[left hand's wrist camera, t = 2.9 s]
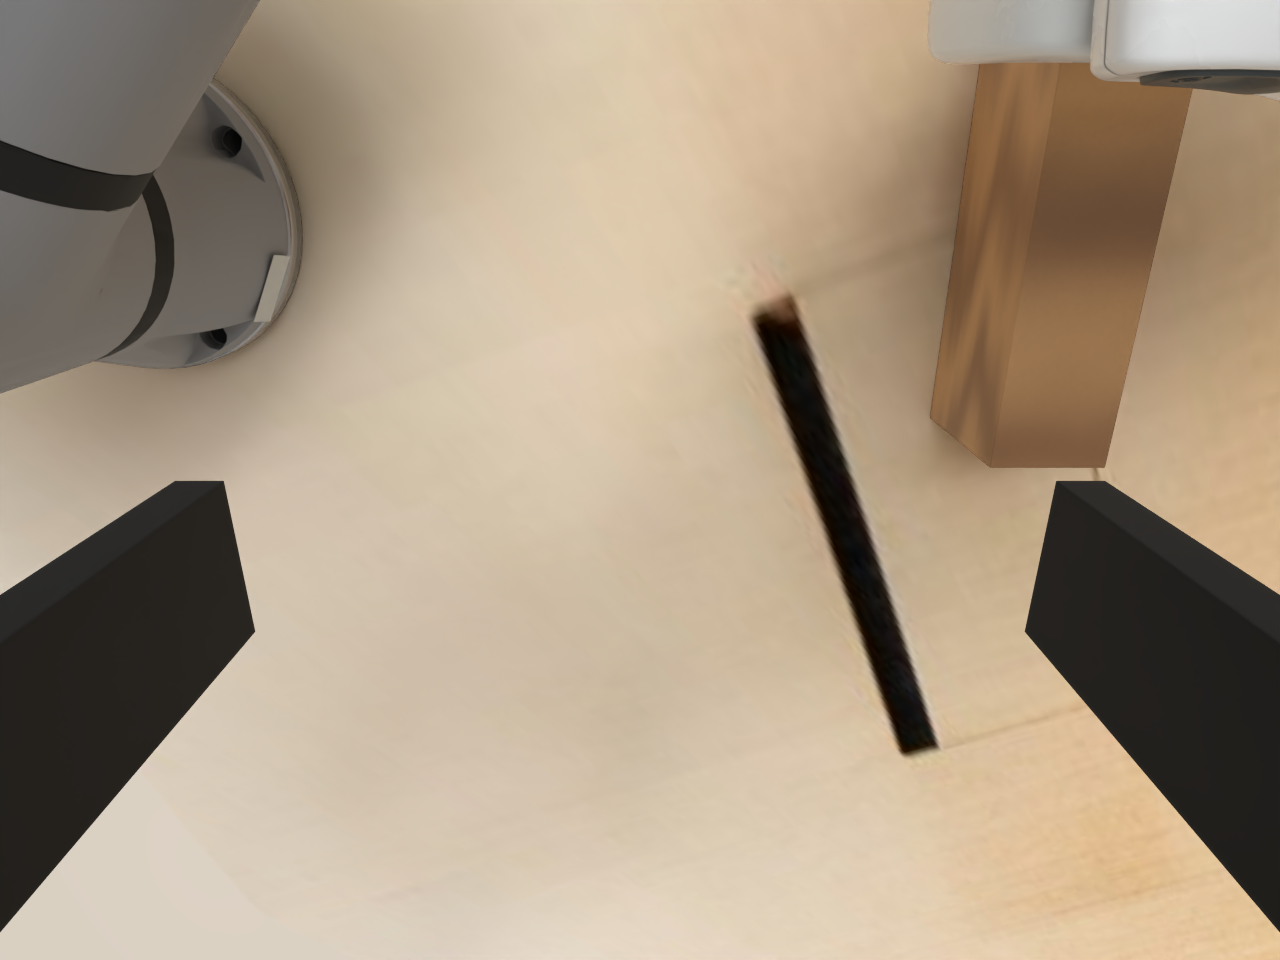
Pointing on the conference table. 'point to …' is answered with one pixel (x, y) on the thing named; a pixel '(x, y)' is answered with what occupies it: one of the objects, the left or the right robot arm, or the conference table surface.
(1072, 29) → the right robot arm
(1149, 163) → the bar
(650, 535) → the conference table surface
